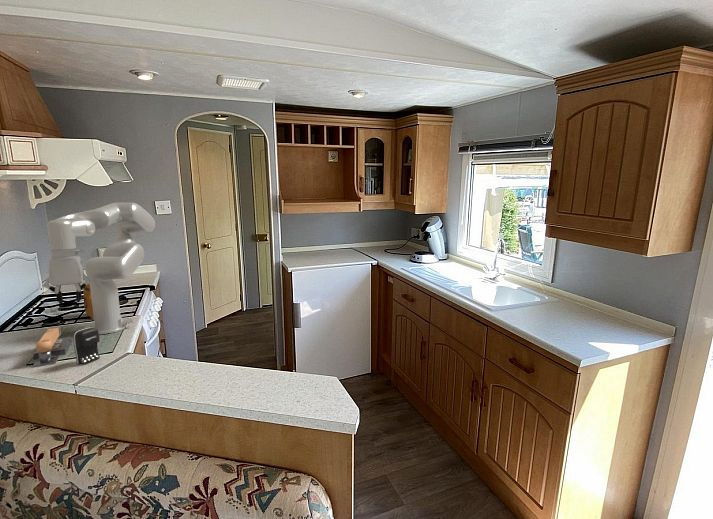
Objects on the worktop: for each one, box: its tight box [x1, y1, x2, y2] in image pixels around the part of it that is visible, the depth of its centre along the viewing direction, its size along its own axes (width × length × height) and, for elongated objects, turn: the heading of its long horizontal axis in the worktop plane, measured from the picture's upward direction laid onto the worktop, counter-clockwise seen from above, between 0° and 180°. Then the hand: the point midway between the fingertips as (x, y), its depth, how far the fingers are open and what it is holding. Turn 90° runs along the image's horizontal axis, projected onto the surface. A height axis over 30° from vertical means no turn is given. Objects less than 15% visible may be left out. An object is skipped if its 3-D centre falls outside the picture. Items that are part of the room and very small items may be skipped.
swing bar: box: [35, 325, 62, 353], centre depth 136 cm, size 4×20×3 cm, turn 29°
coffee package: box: [82, 284, 94, 320], centre depth 183 cm, size 10×12×22 cm
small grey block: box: [32, 350, 60, 368], centre depth 129 cm, size 6×6×4 cm
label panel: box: [32, 336, 73, 361], centre depth 141 cm, size 9×15×2 cm, turn 29°
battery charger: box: [72, 327, 101, 366], centre depth 129 cm, size 7×4×11 cm, turn 161°
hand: (70, 302), depth 142 cm, fingers open, 4 cm apart
